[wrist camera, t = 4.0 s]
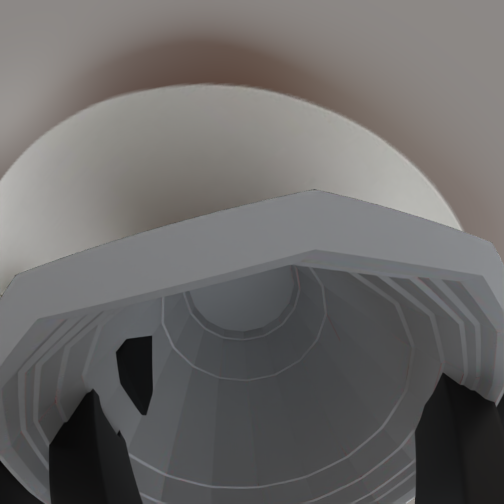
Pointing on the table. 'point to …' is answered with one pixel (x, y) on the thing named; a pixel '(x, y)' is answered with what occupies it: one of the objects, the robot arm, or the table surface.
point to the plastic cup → (257, 349)
